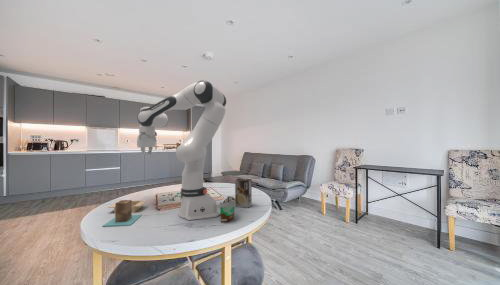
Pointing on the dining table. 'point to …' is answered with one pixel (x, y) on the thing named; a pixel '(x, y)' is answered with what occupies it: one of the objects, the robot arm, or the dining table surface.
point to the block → (123, 210)
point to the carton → (135, 205)
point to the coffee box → (243, 192)
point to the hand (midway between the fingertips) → (146, 154)
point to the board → (128, 223)
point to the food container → (227, 209)
